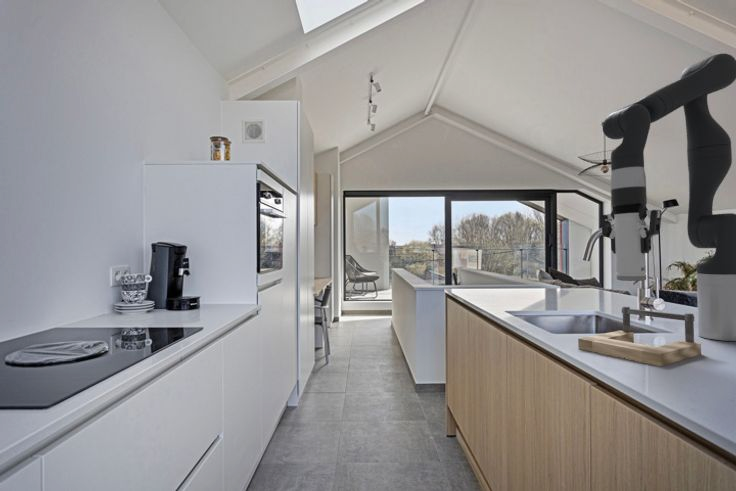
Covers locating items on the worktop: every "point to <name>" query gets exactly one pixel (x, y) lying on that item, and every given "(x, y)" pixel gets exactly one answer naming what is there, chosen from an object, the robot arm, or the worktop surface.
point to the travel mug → (628, 244)
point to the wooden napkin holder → (662, 355)
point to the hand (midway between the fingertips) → (630, 253)
